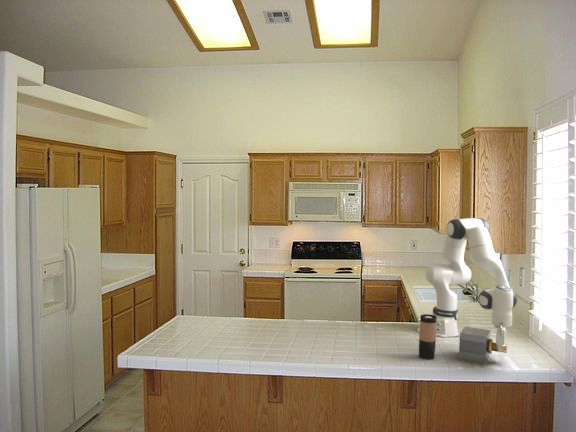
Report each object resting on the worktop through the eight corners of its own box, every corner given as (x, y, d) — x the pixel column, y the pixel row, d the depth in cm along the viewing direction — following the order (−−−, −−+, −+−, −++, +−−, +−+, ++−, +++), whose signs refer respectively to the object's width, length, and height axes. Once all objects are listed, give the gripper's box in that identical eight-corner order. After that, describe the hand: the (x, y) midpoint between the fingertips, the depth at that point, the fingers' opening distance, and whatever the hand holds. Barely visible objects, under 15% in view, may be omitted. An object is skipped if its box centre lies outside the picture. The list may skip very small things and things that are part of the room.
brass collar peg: (471, 352, 253) (471, 337, 253) (473, 348, 259) (474, 334, 259) (505, 358, 246) (506, 343, 246) (507, 354, 252) (507, 339, 252)
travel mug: (432, 354, 259) (434, 314, 258) (436, 360, 251) (438, 318, 250) (416, 354, 258) (418, 314, 257) (420, 359, 251) (422, 317, 250)
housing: (458, 359, 253) (460, 332, 252) (463, 352, 265) (465, 326, 264) (485, 364, 247) (486, 336, 246) (489, 356, 259) (490, 330, 259)
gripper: (508, 326, 239) (506, 356, 240) (509, 317, 257) (508, 345, 258) (493, 324, 241) (491, 354, 242) (495, 315, 260) (494, 343, 261)
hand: (500, 349), depth 250 cm, fingers closed on brass collar peg, 4 cm apart
